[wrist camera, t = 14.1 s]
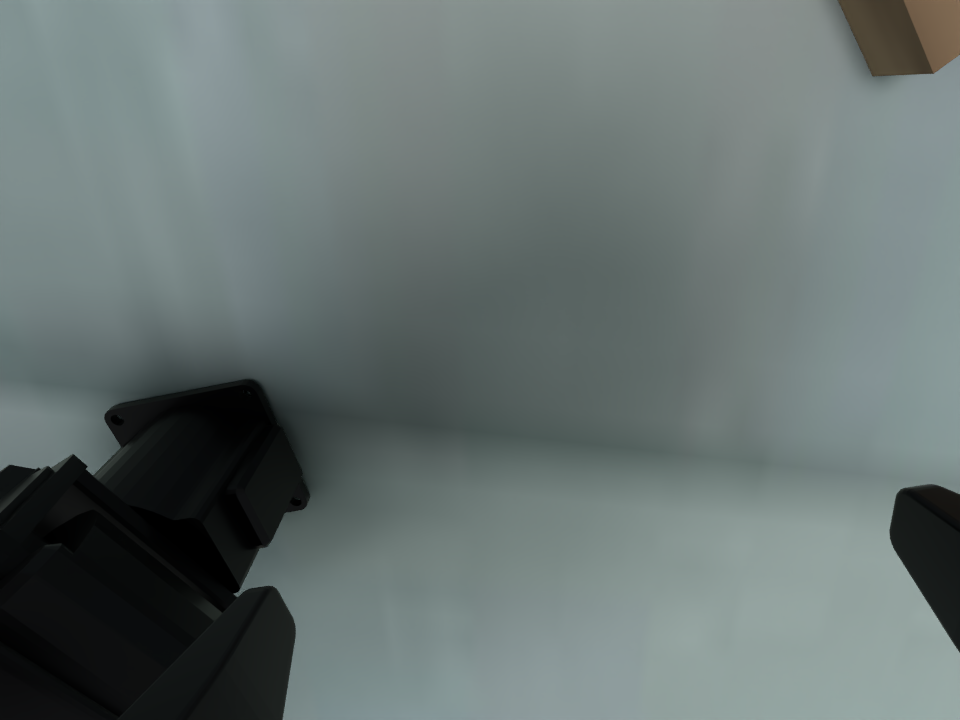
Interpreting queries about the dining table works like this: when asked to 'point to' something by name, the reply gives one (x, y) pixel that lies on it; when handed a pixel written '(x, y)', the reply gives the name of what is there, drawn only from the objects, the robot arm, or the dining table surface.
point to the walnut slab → (905, 34)
